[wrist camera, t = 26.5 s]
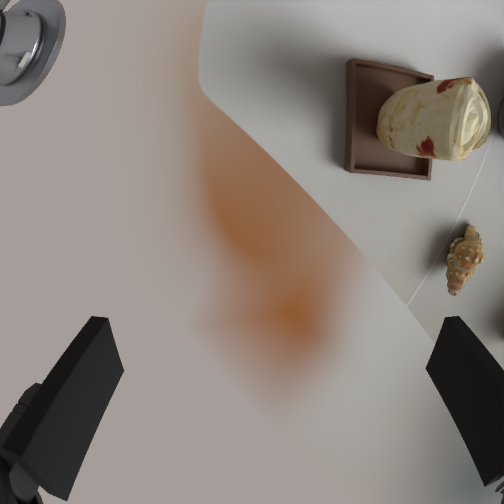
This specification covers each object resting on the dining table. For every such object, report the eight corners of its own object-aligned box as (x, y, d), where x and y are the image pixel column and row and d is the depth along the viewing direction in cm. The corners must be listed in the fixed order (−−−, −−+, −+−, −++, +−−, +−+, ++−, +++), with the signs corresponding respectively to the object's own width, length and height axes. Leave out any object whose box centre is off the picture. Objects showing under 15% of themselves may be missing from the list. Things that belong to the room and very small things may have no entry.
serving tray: (344, 170, 42) (349, 172, 39) (346, 62, 36) (351, 58, 33) (421, 177, 41) (430, 180, 39) (425, 78, 35) (433, 75, 33)
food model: (382, 81, 36) (462, 56, 17) (418, 104, 36) (508, 99, 18) (358, 139, 39) (431, 148, 21) (396, 160, 40) (481, 185, 21)
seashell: (462, 261, 50) (470, 303, 43) (430, 250, 51) (437, 293, 44) (486, 229, 43) (501, 271, 36) (454, 215, 44) (467, 258, 37)
